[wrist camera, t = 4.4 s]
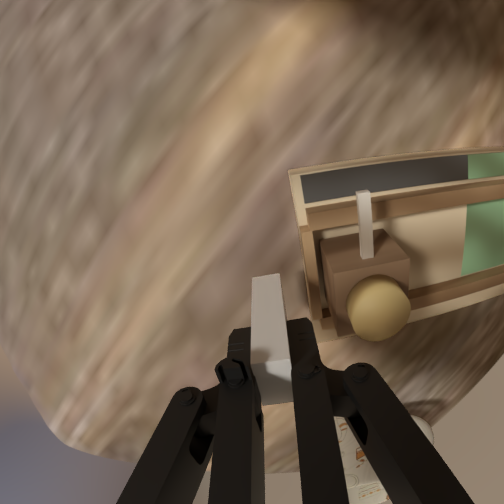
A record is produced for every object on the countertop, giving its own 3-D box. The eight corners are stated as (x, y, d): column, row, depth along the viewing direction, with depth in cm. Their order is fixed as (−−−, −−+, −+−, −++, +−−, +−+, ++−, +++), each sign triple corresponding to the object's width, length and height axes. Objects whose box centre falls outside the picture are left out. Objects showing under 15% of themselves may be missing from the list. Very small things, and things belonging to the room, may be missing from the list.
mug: (291, 401, 27) (300, 497, 18) (420, 365, 25) (459, 450, 16) (305, 441, 30) (313, 519, 21) (413, 412, 29) (439, 484, 20)
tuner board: (287, 169, 18) (292, 179, 16) (529, 145, 16) (550, 152, 14) (312, 330, 23) (317, 353, 21) (516, 277, 21) (531, 291, 19)
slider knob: (310, 183, 17) (333, 216, 12) (378, 172, 16) (424, 201, 11) (325, 296, 20) (343, 355, 15) (383, 284, 20) (415, 338, 15)
